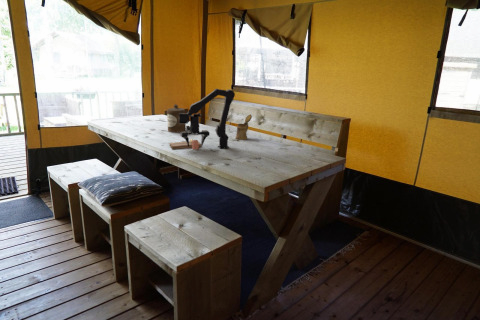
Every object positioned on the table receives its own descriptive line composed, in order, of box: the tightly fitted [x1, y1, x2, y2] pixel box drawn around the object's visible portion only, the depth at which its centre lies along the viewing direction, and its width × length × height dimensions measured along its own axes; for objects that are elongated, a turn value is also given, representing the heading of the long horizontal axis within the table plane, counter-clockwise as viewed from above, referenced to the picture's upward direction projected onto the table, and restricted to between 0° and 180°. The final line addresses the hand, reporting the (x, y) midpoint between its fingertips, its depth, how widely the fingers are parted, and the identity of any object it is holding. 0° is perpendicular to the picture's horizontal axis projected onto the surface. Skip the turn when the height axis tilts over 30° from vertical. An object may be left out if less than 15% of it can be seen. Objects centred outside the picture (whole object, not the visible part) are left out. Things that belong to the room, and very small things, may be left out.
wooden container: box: [166, 104, 187, 133], centre depth 278 cm, size 15×15×22 cm
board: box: [169, 140, 202, 150], centre depth 231 cm, size 10×20×2 cm, turn 112°
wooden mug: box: [235, 114, 253, 141], centre depth 255 cm, size 9×14×18 cm, turn 127°
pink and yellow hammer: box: [189, 139, 200, 150], centre depth 229 cm, size 13×4×6 cm, turn 22°
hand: (195, 146), depth 226 cm, fingers open, 9 cm apart
